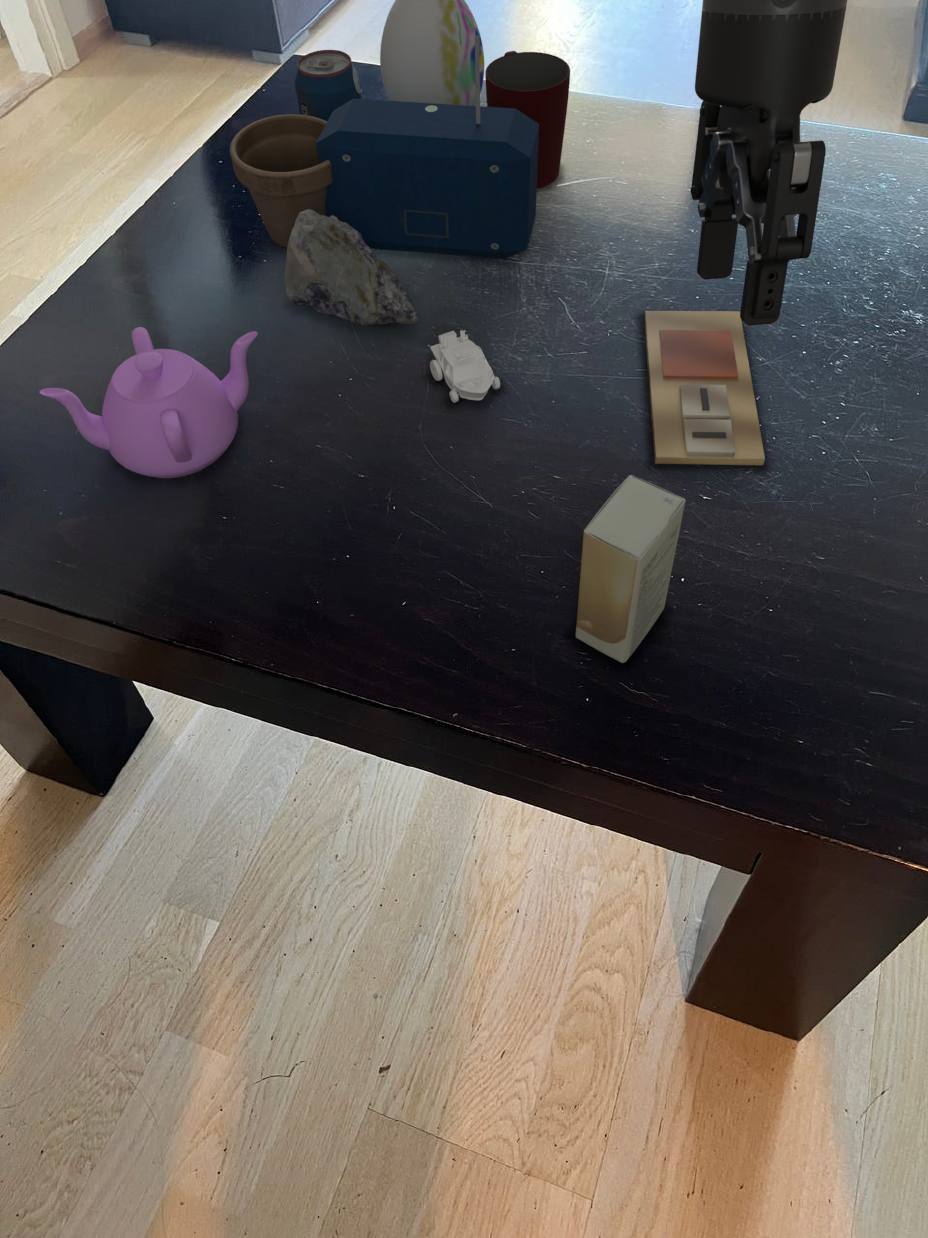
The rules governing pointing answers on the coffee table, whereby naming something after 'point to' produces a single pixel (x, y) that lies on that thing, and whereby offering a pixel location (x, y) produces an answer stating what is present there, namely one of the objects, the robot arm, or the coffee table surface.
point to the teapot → (164, 409)
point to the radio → (433, 175)
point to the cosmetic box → (627, 566)
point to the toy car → (462, 367)
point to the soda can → (325, 83)
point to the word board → (701, 389)
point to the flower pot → (282, 169)
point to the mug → (534, 100)
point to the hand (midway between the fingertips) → (734, 298)
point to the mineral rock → (342, 274)
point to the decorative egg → (430, 52)
